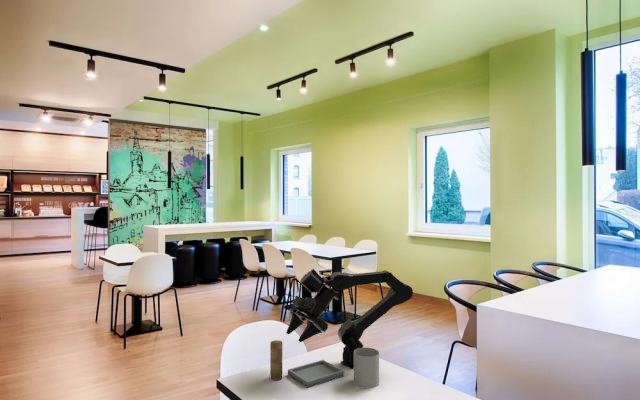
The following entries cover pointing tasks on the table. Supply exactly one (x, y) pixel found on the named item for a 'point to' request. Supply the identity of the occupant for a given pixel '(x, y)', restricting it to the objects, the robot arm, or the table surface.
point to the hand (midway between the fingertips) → (293, 337)
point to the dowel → (276, 360)
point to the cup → (366, 367)
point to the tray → (315, 373)
